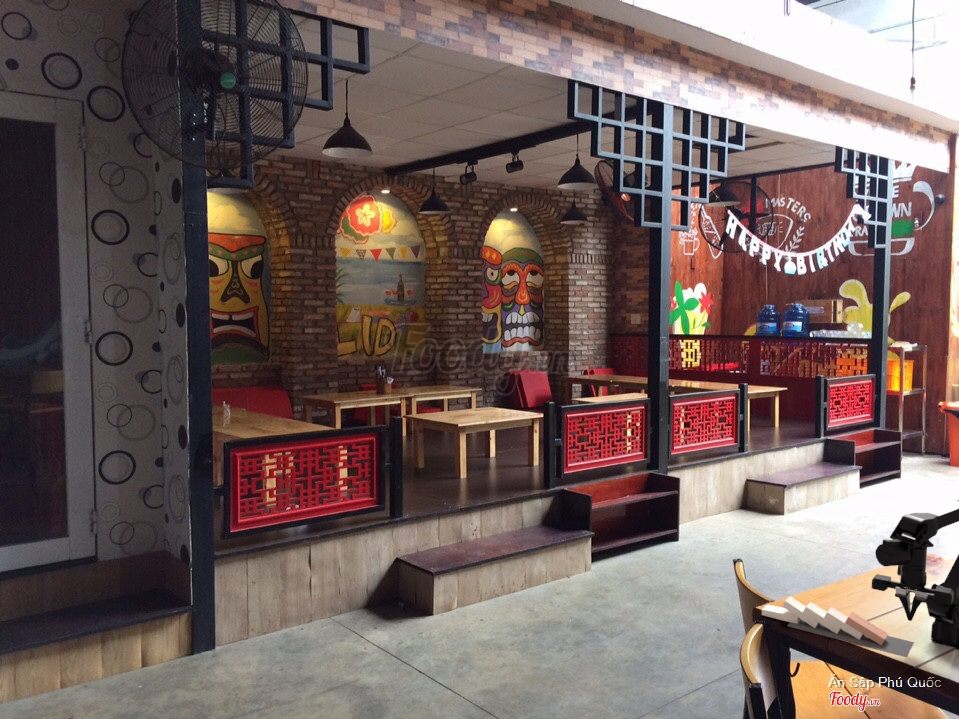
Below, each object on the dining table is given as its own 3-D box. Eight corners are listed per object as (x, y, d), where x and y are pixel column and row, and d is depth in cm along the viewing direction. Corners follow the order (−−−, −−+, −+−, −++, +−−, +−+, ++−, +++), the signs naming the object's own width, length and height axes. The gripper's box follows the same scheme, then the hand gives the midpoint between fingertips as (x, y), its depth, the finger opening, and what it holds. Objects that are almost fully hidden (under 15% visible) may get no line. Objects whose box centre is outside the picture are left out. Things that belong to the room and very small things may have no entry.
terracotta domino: (888, 633, 212) (852, 611, 218) (884, 639, 208) (848, 616, 214) (885, 639, 213) (849, 617, 218) (881, 645, 209) (844, 622, 214)
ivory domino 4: (866, 628, 216) (831, 607, 221) (862, 633, 212) (826, 612, 217) (863, 634, 216) (828, 612, 222) (859, 639, 212) (823, 617, 218)
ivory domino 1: (802, 611, 226) (767, 604, 232) (797, 616, 222) (761, 609, 228) (802, 618, 226) (767, 611, 232) (797, 623, 222) (761, 616, 228)
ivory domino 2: (822, 617, 223) (790, 596, 228) (818, 622, 219) (785, 600, 224) (819, 622, 223) (787, 601, 229) (814, 628, 219) (781, 606, 225)
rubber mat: (913, 643, 212) (914, 642, 212) (906, 658, 202) (906, 657, 202) (798, 614, 230) (799, 613, 230) (787, 627, 220) (787, 626, 220)
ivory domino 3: (844, 622, 219) (810, 601, 224) (840, 628, 215) (805, 606, 221) (841, 628, 220) (807, 607, 225) (837, 634, 216) (802, 612, 221)
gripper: (957, 563, 209) (953, 620, 210) (880, 549, 220) (876, 603, 221) (953, 573, 200) (949, 633, 201) (872, 558, 211) (869, 615, 212)
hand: (910, 620), depth 209 cm, fingers closed
